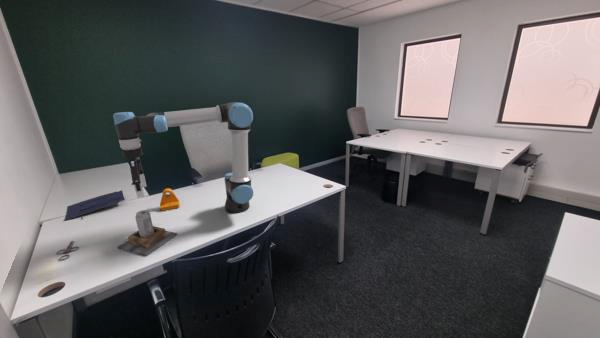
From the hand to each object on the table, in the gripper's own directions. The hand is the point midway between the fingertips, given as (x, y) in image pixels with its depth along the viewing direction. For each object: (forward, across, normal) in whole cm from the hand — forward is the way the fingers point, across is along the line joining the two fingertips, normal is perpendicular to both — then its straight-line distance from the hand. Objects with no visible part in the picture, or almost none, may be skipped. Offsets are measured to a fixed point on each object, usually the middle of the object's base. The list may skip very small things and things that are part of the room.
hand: (142, 191), depth 115 cm
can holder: (+25, -2, +2) cm, 26 cm away
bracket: (+26, +34, -8) cm, 43 cm away
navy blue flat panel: (+25, +58, +34) cm, 72 cm away
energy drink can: (+25, -2, +2) cm, 25 cm away
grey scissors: (+26, +8, +35) cm, 44 cm away
